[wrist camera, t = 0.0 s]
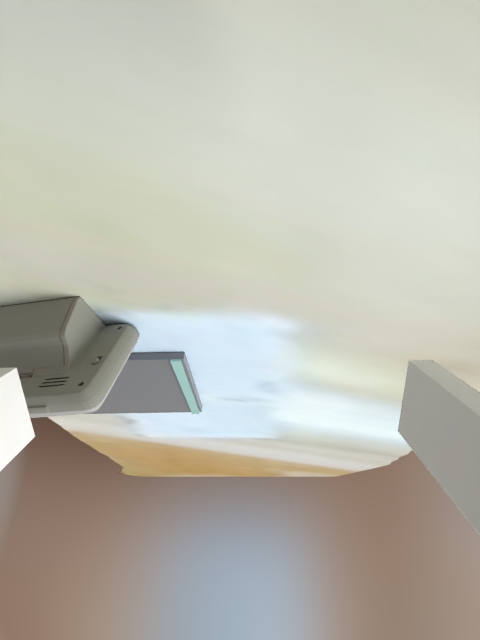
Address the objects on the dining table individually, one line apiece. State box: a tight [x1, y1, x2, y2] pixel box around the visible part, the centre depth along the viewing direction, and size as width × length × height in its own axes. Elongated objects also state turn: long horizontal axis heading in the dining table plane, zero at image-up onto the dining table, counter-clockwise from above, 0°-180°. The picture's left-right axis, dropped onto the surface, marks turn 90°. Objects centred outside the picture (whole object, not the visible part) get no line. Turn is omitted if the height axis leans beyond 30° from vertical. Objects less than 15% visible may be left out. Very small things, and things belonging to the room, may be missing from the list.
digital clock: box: [0, 297, 139, 418], centre depth 29 cm, size 16×9×11 cm, turn 88°
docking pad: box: [85, 352, 202, 414], centre depth 44 cm, size 18×24×1 cm
